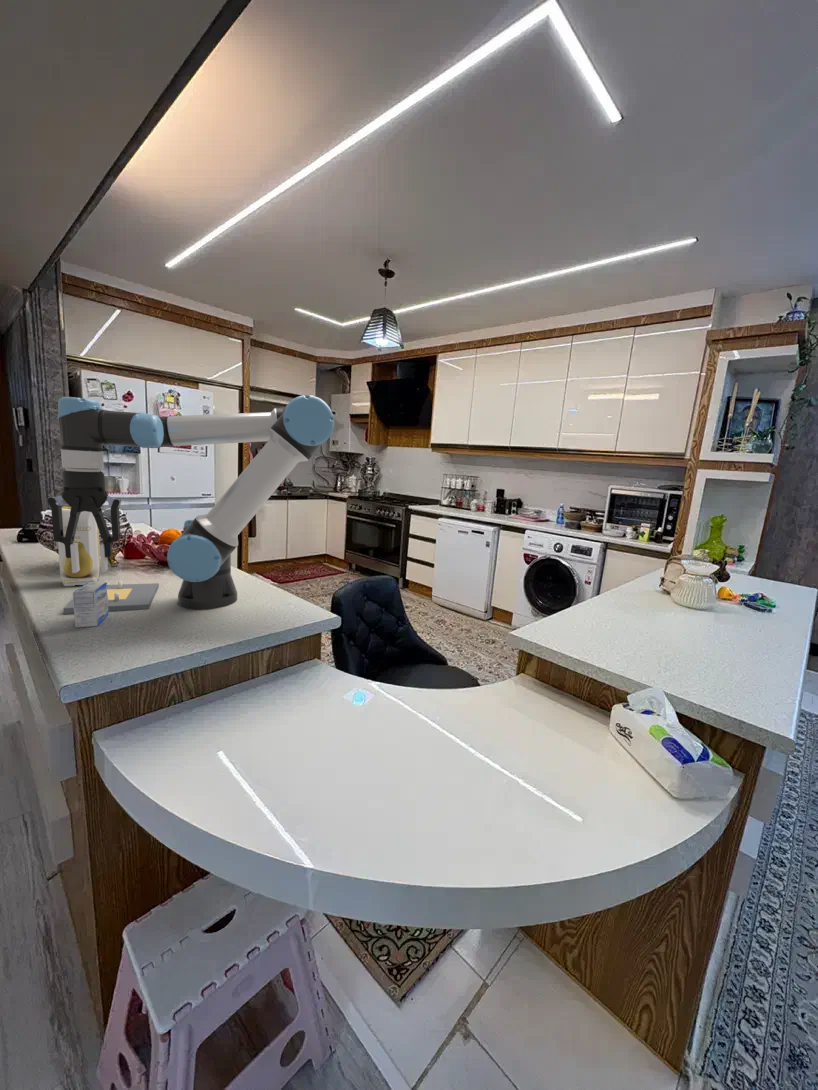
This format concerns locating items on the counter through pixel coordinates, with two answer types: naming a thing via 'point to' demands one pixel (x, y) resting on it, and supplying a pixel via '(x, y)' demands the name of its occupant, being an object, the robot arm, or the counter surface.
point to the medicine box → (90, 604)
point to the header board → (125, 597)
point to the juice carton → (81, 550)
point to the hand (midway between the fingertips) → (90, 570)
